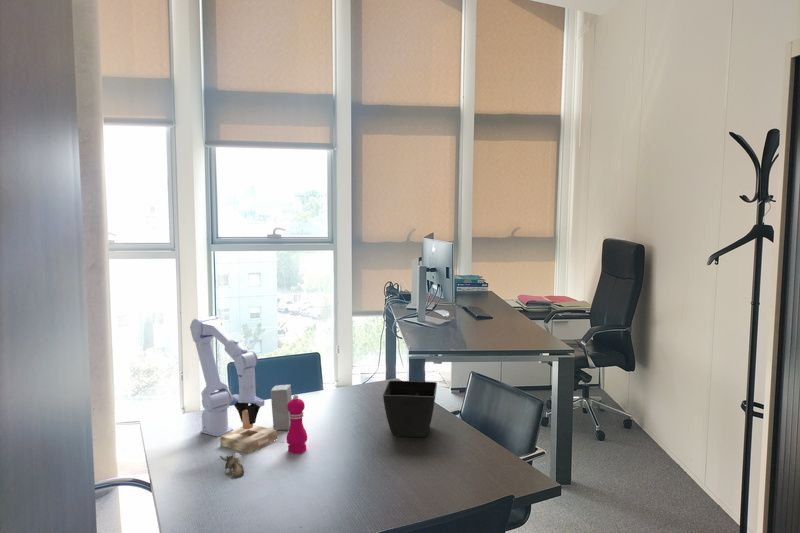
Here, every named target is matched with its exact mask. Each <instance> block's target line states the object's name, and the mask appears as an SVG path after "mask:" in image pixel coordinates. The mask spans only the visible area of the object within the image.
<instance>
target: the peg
mask: <svg viewBox="0 0 800 533" xmlns="http://www.w3.org/2000/svg"><path fill="white" fill-rule="evenodd" d="M241 423H242V426H243V429H251V428H253V425H254V424H250V422H249V414H248V411H247V410H243V411H242V422H241Z"/></svg>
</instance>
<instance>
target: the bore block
mask: <svg viewBox="0 0 800 533" xmlns="http://www.w3.org/2000/svg"><path fill="white" fill-rule="evenodd" d="M219 437H220V438H219V439H220V446H221V447H225V448H229V449H232V450H235V451H240V452H244V453H246V454H251V453H253V452H255V451H257V450H259V449H261V448H262V447H265V446H267V445H269V444H271V443H272V442H273V443H274V442H275V441H277V440H278V430H274V428H273V429H272V428H269V427H264V426H260V425H256V424H253V428H251V429H243V425H242V426H240V427H238V428H235V429H233V430H232V431H230V432H227V433H225V434H223V435H220V436H219ZM276 439H277V440H276ZM274 440H275V441H274ZM270 442H271V443H270Z"/></svg>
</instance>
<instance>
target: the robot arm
mask: <svg viewBox="0 0 800 533" xmlns="http://www.w3.org/2000/svg"><path fill="white" fill-rule="evenodd" d="M189 330H190V333H191V334H190V335H191V336H192V341H193V342H194V343H195V347H196V352H197V354H198V360H199V361H200V366H201V370H202V374H203V378H204V381H205V385H206V386H205V387H204V388H203V390H202V392H200V394H201V405H202V407H203V411H202V412H201V428H202V429H201V430H200V433H202V434H207V435H210V436H214V437H220V436H222V435H224V434H226V433H229V432H231V431H233V430H234V428H232V427H229V418H228V417H229V416H228V413H229V412H228V408H230V404H232V402H235V403H234V404H233V406H234V407H235V409H236V411H237V413H238V415H239V418H240V422H241V423H243V422H242V411H243V410H247V411H248V414H249V422H250V424H253V425H255V424H256V421H257V416H258V413H259V410H260V408H261V407H264V406H265V399H262V398H260V397H258V396H257V395H256V372H255V367H256V366H257V365H258V362H259V359H258V356H257V353H255V351H253V350H249V349H248V350H247V348H246V347H245V346H244V345H242V343H241V342H240V341H239V340H238V339H237V338H235V339H234V338H232V337H231V336H230V334H228V332H227V330H225V328H224V327H223V323H222V320H221V319H220V317H219V316H217V315H211V316H205V317H200V318H193V319H192V320H191V323H190V326H189ZM214 338H215V339H217V340H218V341H219V342H220V343H221V344H222V345H223V346H224V351H225V353H226V354H228V356H229V357H230V358H231V359H232V360H233V363H234V364H233V365H234V367H235V369H236V374H237V376H238V394H237V393H235V394H232V393H231V391H230V389H229V388H228V385H227V384H225V383H224V382H222V381H221V379H220V375H219V370H218V367H217V364H216V360H215V356H214V355H215V354H214V352H213V348H212V344H211V341H212V340H213V339H214Z"/></svg>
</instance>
